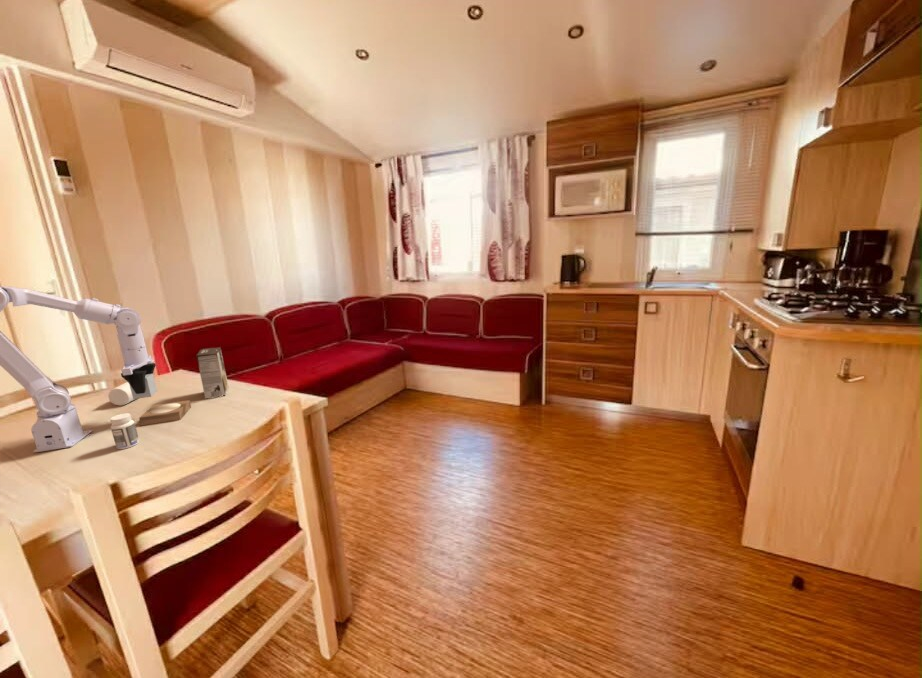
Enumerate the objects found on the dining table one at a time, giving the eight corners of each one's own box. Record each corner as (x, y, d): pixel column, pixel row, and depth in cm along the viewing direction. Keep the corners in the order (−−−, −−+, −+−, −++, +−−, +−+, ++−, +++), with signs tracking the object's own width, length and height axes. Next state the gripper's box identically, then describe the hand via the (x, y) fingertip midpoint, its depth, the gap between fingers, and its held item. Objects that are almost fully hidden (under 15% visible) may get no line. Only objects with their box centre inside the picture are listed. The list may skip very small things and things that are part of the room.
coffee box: (209, 390, 138) (200, 348, 134) (229, 387, 140) (221, 346, 137) (204, 399, 130) (195, 355, 126) (225, 395, 132) (217, 352, 129)
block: (151, 396, 114) (146, 378, 112) (133, 399, 112) (128, 380, 111) (157, 391, 118) (152, 373, 116) (139, 393, 116) (135, 375, 115)
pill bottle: (137, 438, 103) (130, 410, 101) (141, 444, 100) (134, 415, 98) (114, 446, 100) (106, 417, 98) (118, 451, 97) (110, 422, 95)
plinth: (180, 419, 114) (178, 411, 114) (141, 425, 111) (139, 417, 110) (191, 407, 123) (189, 399, 123) (155, 412, 120) (153, 404, 120)
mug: (134, 399, 126) (157, 386, 138) (119, 384, 125) (144, 372, 136) (109, 414, 127) (135, 400, 138) (94, 399, 125) (121, 386, 136)
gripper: (138, 352, 106) (150, 396, 109) (159, 340, 119) (168, 380, 123) (108, 355, 104) (120, 400, 107) (132, 343, 117) (142, 384, 120)
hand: (144, 390), depth 115 cm, fingers closed on block, 4 cm apart
